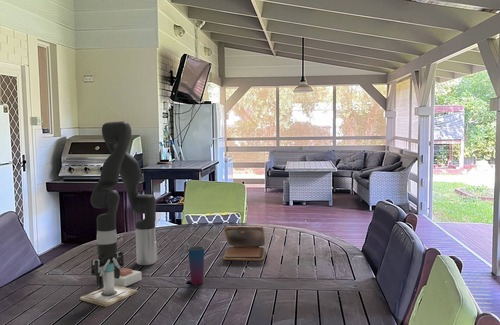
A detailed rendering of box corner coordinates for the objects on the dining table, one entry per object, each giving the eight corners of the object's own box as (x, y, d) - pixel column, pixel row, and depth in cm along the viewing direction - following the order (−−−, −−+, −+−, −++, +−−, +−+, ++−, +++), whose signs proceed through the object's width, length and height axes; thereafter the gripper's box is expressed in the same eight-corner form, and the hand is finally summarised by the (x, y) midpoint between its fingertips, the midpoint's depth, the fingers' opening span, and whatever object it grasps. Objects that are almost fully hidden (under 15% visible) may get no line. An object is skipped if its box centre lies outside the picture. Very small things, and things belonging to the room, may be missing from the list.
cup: (190, 286, 190) (189, 250, 188) (187, 280, 196) (187, 246, 195) (206, 284, 191) (205, 249, 190) (203, 278, 198) (202, 245, 196)
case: (266, 249, 242) (265, 219, 241) (263, 261, 222) (262, 229, 220) (228, 249, 244) (227, 219, 243) (221, 261, 224) (220, 229, 222)
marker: (109, 290, 182) (108, 260, 181) (117, 292, 180) (116, 262, 179) (101, 293, 179) (100, 263, 178) (108, 295, 177) (107, 265, 175)
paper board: (112, 286, 190) (112, 283, 190) (137, 292, 183) (136, 289, 183) (80, 299, 176) (80, 296, 176) (105, 307, 169) (105, 303, 169)
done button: (124, 274, 199) (124, 267, 198) (131, 275, 196) (131, 269, 196) (116, 277, 195) (116, 270, 195) (124, 278, 193) (124, 272, 192)
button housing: (124, 275, 203) (124, 268, 202) (141, 279, 198) (141, 271, 197) (107, 283, 194) (107, 274, 194) (124, 287, 189) (124, 278, 189)
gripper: (114, 235, 185) (115, 274, 187) (85, 244, 173) (87, 285, 175) (127, 238, 182) (128, 277, 183) (99, 246, 169) (101, 289, 171)
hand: (108, 281), depth 179 cm, fingers open, 8 cm apart
